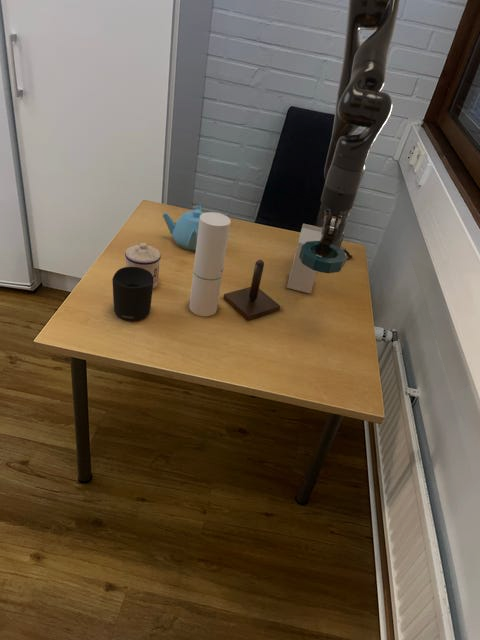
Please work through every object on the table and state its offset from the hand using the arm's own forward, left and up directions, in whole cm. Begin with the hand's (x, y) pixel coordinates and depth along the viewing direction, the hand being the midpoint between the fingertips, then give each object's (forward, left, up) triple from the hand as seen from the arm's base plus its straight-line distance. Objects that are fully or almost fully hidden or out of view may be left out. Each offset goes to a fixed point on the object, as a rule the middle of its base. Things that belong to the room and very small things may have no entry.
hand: (321, 252), depth 115 cm
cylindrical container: (+24, -14, -19) cm, 33 cm away
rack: (+11, -10, -19) cm, 24 cm away
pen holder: (+41, -20, -19) cm, 49 cm away
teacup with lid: (+32, -32, -19) cm, 49 cm away
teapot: (+7, -46, -19) cm, 50 cm away
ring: (+3, +3, 0) cm, 4 cm away
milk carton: (-9, -12, -19) cm, 24 cm away
